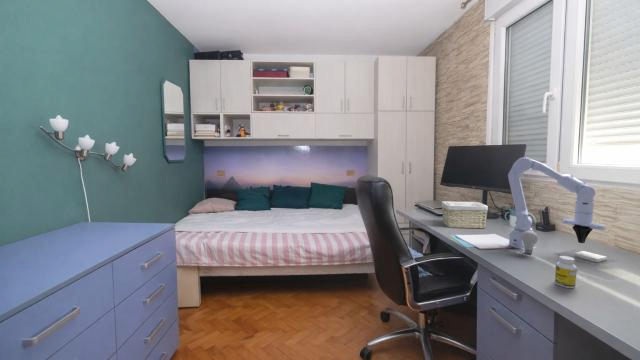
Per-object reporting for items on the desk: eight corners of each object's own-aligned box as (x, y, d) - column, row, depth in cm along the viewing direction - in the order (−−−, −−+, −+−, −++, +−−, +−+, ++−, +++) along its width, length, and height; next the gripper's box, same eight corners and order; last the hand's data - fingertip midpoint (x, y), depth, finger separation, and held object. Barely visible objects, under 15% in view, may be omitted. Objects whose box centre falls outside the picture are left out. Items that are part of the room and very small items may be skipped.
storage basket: (446, 228, 176) (447, 204, 174) (439, 222, 191) (440, 200, 190) (488, 229, 172) (489, 205, 170) (477, 223, 188) (478, 201, 186)
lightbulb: (533, 253, 130) (535, 229, 129) (539, 257, 124) (540, 233, 123) (518, 251, 132) (519, 228, 131) (522, 255, 126) (524, 231, 125)
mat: (595, 267, 113) (595, 265, 113) (553, 254, 127) (553, 253, 127) (617, 261, 119) (618, 260, 119) (575, 250, 133) (575, 249, 133)
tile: (573, 256, 124) (596, 262, 117) (574, 252, 124) (597, 258, 116) (583, 254, 126) (606, 260, 119) (583, 250, 126) (607, 256, 119)
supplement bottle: (550, 281, 100) (552, 255, 99) (564, 281, 101) (566, 254, 100) (565, 289, 95) (567, 260, 94) (579, 288, 95) (582, 260, 94)
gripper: (610, 214, 118) (607, 246, 119) (569, 208, 132) (567, 237, 133) (600, 216, 116) (598, 248, 117) (560, 209, 129) (558, 238, 130)
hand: (581, 242), depth 125 cm, fingers closed
